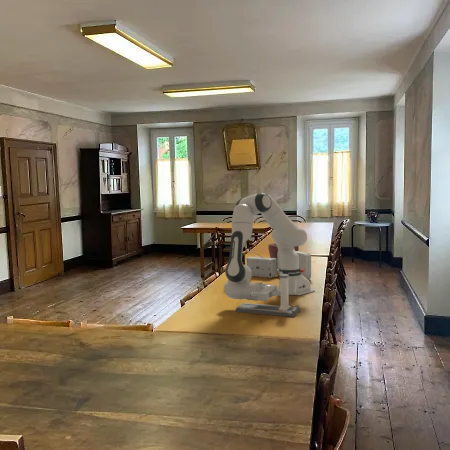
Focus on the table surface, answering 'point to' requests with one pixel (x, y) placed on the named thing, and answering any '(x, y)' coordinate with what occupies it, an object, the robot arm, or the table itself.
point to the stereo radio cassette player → (262, 266)
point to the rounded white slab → (301, 263)
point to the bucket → (276, 250)
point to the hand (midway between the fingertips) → (281, 293)
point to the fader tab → (284, 292)
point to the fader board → (267, 309)
